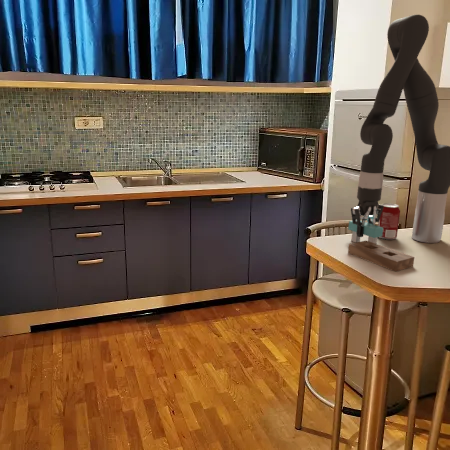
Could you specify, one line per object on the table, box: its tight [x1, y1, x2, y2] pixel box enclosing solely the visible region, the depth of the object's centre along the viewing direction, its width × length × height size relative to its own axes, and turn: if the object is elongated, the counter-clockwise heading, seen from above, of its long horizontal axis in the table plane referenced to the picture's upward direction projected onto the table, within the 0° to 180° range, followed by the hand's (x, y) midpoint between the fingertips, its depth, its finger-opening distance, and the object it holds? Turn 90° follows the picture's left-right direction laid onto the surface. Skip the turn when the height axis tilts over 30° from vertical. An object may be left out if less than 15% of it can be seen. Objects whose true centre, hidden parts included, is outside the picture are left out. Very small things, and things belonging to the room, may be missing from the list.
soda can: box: [377, 202, 401, 241], centre depth 158 cm, size 7×7×12 cm
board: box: [347, 240, 415, 272], centre depth 137 cm, size 8×18×3 cm, turn 32°
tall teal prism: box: [348, 220, 383, 244], centre depth 151 cm, size 4×11×7 cm, turn 32°
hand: (364, 235), depth 152 cm, fingers closed on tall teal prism, 4 cm apart
